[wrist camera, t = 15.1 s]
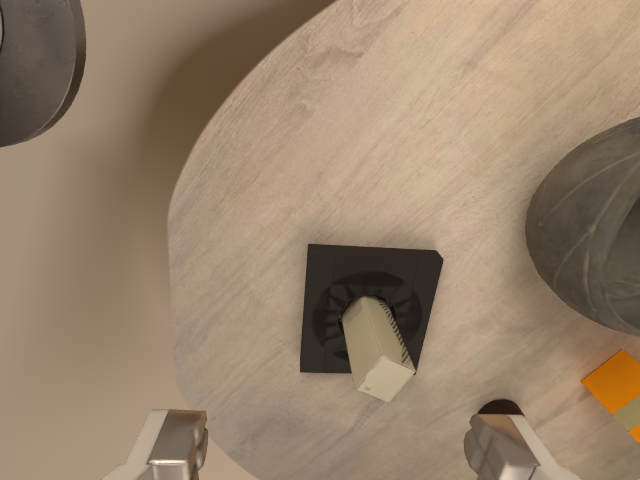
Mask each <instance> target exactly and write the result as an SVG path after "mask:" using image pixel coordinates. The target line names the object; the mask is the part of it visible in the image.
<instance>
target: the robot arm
mask: <svg viewBox="0 0 640 480" xmlns="http://www.w3.org/2000/svg"><path fill="white" fill-rule="evenodd" d="M1 41H2V19H1V13H0V47H1ZM206 421H207V416H206V411H194V410H167V409H152V411H151V412H150V413H149V414H148V416H147V418H146V420H145V422H144V424H143V426H142V429H141V431H140V433H139V435H138V437H137V439H136V441H135V443H134V445H133V447H132V450H131V452H130V454H129V456H128V458H127V460H126V462H125V464H119V465H118V466H116V467H115V468H114V469H113V470H112V471H110V473H108V474H107V475H106V476H105V477H104V478H102V479H101V480H199V476H198V471H199V470H200V469H201V467H203V465H204V461H205V457H206V452H207V445H208V430H207V429H206V428H205V424H206ZM470 425H471V427H472V429H470V430H469V431H468V432H466V434H465V438H464V452H465V455H466V459H467V461H468V464H469V466H470V467H471V468H472V469H473V470H474V471H475V472H476V473H477V474H478V478H477V480H582V479H581V478H579V477H578V476H577V475H575V474H574V473H573V472H571V471H570V470H569V469H567V468H566V467H565V466H559V465H558V463H557V462H556V460H555V459H554V458H553V456H552V455H551V453H550V452H549V450H548V449H547V447H546V446H545V444H544V443H543V442H542V440H541V439H540V437H539V436H538V434H537V433H536V431H535V430H534V428H533V427H532V425H531V424H530V423H529V421H528V420H527V418H526V417H524V416H523V415H504V414H475V415H473V416H472V417H471V420H470Z"/></svg>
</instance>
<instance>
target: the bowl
mask: <svg viewBox="0 0 640 480" xmlns="http://www.w3.org/2000/svg"><path fill="white" fill-rule="evenodd" d="M526 240H527V247H528V250H529V253H530V256H531V258H532V261H533V263H534V265H535V268H536V270H537V271H538V273H539V275H540V276H541V278H542V279H543V280H544V281H545V282H546V283H547V284H548V286H549V287H550V288H551V289H552V290H553V291H554V292H555V293H556V294H557V295H558V296H559V298H560V299H561V300H563V301H564V302H565V303H566V304H567V305H568V306H570V307H571V308H572V309H574V310H575V311H577V312H579V313H580V314H582V315H584V316H585V317H587V318H589V319H591V320H593V321H595V322H597V323H599V324H601V325H603V326H606V327H609V328H612V329H614V330H618V331H621V332H624V333H627V334H631V335H636V336H640V117H638V118H634V119H631V120H628V121H626V122H624V123H621V124H619V125H617V126H615V127H612V128H610V129H608V130H606V131H604V132H602V133H599V134H597V135H596V136H594V137H592V138H591V139H589V140H587V141H586V142H584V143H582V144H581V145H579V146H578V147H576V148H575V149H574V150H572V151H571V152H570V153H568V154H567V155H566V156H565V157H564V158H563V159H562V160H561V161H560V162H559V163H558V164H557V165H556V166H555V167H554V168H553V170H552V171H551V172H550V173H549V174H548V176H547V177H546V178H545V179H544V180H543V182H542V183H541V184H540V186H539V188H538V189H537V191H536V193H535V194H534V196H533V198H532V200H531V203H530V205H529V209H528V212H527V219H526Z"/></svg>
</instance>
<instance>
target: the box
mask: <svg viewBox="0 0 640 480" xmlns="http://www.w3.org/2000/svg"><path fill="white" fill-rule="evenodd" d="M341 318H342V324H343V329H344V334H345V339H346V345H347V350H348V355H349V361H350V366H351V371H352V377H353V382H354V388H355V390H357V391H359V392H361V393H364V394H366V395H369V396H371V397H374V398H376V399H379V400H382V401H384V402H387V403H389V402H391V400H392V399H393V398H394V397H395V396H396V395H397V394H398V392H399V391H400V390H401V389H402V388H403V387H404V385H405V384H406V383H407V382H408V381H409V379H410V378H411V377H412V376H413V374H414V373H415V371H416V370H415V368H414V366H413V363H412V361H411V358H410V356H409V354H408V351H407V349H406V347H405V344H404V342H403V339H402V337H401V335H400V332H399V330H398V327H397V325H396V323H395V320H394V318H393V315H392V313H391V311H390V308H389V306H388V303H387V302H386V301H384V300H382V299H381V298H379V297H377V296H375V295H368V294H365V295H362V296H358V297H355V298H354V299H353V300H352V302H351V303H350V304H349V306H348V307H347V309H346V310H345V312H344V313H343V315H342V317H341Z"/></svg>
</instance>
